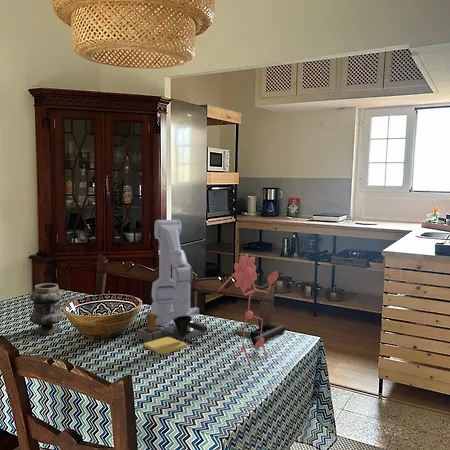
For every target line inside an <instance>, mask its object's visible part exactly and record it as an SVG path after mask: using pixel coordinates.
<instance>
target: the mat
mask: <svg viewBox="0 0 450 450" xmlns="http://www.w3.org/2000/svg"><path fill="white" fill-rule="evenodd" d="M143 347H144V348H147V349H149V350H150V351H153V352H155V353H157V354H160V355H161V356H163V355H166V354H170V353H173V352H176V351H178V350H179V351H180V350H182V349H185V348H187V347H188V344H187V343H186V342H182V341H181V340H179V339H176V338H174V337H172V336H169V335H167V336H166V337H164V338H161V339H157V340H154V341H150V342H147V341H146V342H144V343H143Z"/></svg>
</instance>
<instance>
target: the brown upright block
mask: <svg viewBox="0 0 450 450" xmlns="http://www.w3.org/2000/svg"><path fill="white" fill-rule="evenodd" d="M145 315H146V327H147V332H149V333H152V332H155V331H157V326H158V325H157V318H158V316H157V313H151V311H150V312H149V311H146V313H145Z"/></svg>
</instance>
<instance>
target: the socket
mask: <svg viewBox="0 0 450 450" xmlns="http://www.w3.org/2000/svg"><path fill="white" fill-rule="evenodd" d="M163 328H164V327H160V326H159V325H157V331H155V332H152V333H149V332H147V326H145V327H141V328H138V329H137V338H138V339H141V340H143V341H146V343H147V342H150V341H154V340H157V339H161V338H164V337H167V334H166V330H165V329H163Z"/></svg>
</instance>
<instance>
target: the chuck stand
mask: <svg viewBox="0 0 450 450" xmlns="http://www.w3.org/2000/svg"><path fill="white" fill-rule="evenodd" d="M162 328H163V329H165V330H166V336H169V337H171V338H173V339H176V340H178V341H185V340H188V339H192V338H194V337H197V336H200V335H201V336H202V335H205V334H206V332H201V331H199V330H196V329H194V330H192V331H190V332H186V335H185V337H180V336H179V334H178V332H177V331H174V330H173V325H169V326H167V327H166V326H165V327H162Z"/></svg>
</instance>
